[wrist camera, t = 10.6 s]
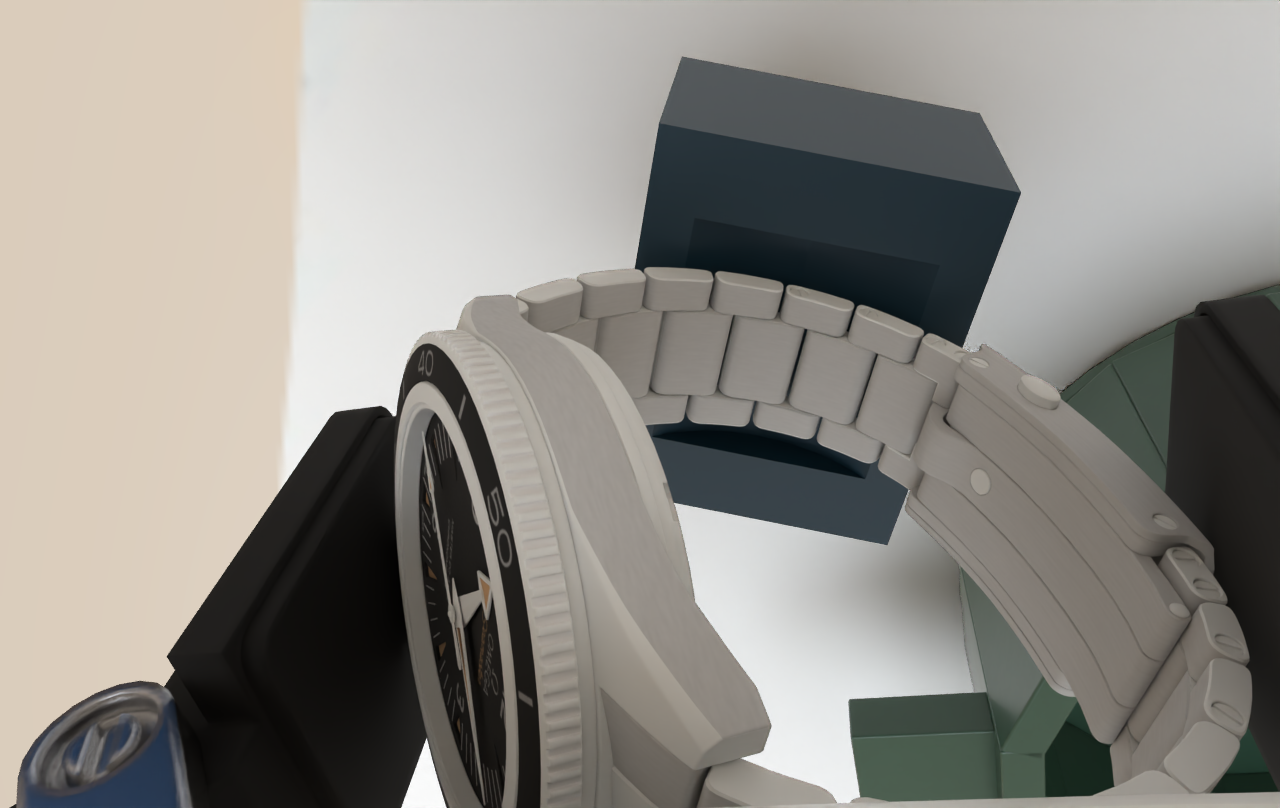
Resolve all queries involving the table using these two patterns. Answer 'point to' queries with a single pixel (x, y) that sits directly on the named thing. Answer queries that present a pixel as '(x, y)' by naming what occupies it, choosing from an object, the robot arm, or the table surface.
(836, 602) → the table surface
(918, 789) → the green cooking pot
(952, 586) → the table surface
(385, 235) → the table surface
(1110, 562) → the watch
